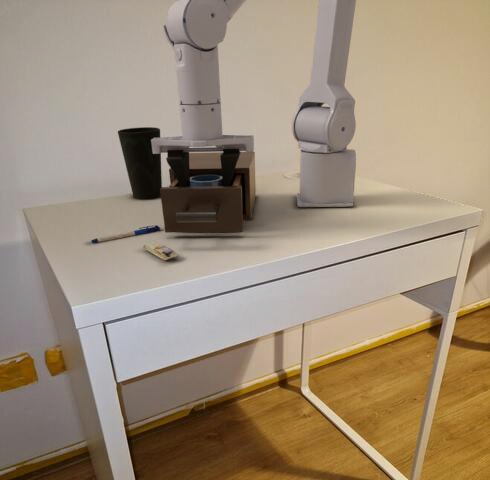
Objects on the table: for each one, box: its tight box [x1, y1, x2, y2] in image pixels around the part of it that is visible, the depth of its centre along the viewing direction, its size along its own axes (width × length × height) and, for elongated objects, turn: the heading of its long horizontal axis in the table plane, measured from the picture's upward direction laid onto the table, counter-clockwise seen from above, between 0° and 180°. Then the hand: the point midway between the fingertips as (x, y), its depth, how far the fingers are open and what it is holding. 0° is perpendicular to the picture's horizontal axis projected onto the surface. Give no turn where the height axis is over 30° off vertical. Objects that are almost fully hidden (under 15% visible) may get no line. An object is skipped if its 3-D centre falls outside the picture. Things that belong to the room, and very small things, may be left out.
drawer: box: [160, 173, 245, 233], centre depth 70 cm, size 18×11×6 cm, turn 176°
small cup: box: [188, 174, 223, 187], centre depth 70 cm, size 5×5×5 cm
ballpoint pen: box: [90, 224, 161, 244], centre depth 70 cm, size 10×1×1 cm, turn 122°
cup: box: [117, 126, 163, 200], centre depth 88 cm, size 8×8×12 cm
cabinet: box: [168, 151, 257, 221], centre depth 80 cm, size 15×13×8 cm
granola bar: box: [141, 240, 179, 261], centre depth 63 cm, size 7×2×1 cm, turn 37°
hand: (207, 202), depth 71 cm, fingers closed on small cup, 5 cm apart
